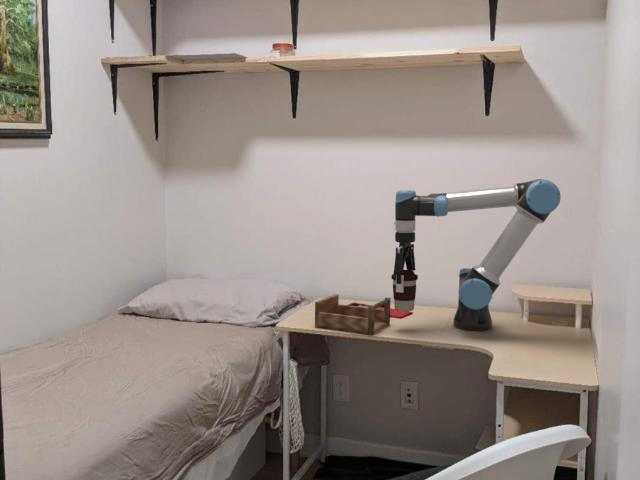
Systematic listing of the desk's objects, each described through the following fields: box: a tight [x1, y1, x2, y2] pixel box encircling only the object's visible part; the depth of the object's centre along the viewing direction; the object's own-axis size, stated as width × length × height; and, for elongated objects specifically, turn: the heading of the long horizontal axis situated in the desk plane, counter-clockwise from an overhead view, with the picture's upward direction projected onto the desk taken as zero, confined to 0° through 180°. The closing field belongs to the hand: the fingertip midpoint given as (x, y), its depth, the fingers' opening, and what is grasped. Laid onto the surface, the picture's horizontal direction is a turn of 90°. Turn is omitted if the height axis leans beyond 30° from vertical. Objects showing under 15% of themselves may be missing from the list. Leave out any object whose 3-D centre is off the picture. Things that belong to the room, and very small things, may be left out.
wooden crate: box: [314, 293, 392, 336], centre depth 271 cm, size 24×18×11 cm
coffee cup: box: [391, 269, 419, 312], centre depth 265 cm, size 10×10×15 cm
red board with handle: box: [347, 302, 414, 320], centre depth 300 cm, size 30×3×15 cm
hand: (404, 289), depth 265 cm, fingers closed on coffee cup, 10 cm apart
